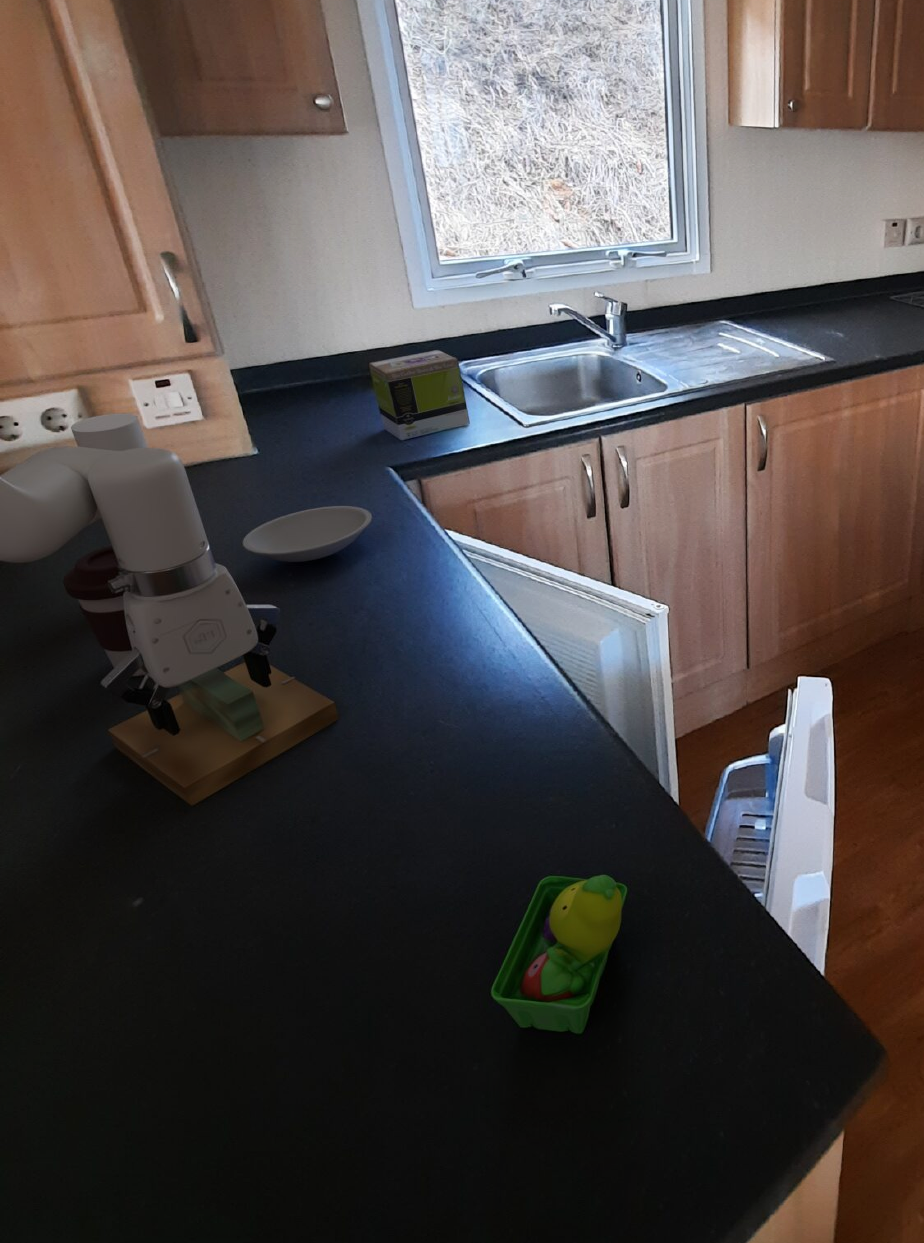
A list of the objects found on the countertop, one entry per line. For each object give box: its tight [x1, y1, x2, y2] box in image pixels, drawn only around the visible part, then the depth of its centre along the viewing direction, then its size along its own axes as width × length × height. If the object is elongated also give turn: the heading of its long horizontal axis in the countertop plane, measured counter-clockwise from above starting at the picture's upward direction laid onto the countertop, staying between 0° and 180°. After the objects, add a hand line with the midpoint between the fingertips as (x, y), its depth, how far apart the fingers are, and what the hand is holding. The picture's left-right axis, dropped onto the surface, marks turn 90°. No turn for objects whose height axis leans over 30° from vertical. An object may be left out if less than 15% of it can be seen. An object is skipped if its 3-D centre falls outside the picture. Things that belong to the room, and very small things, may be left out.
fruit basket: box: [490, 874, 628, 1035], centre depth 68 cm, size 11×9×11 cm
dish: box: [242, 505, 373, 563], centre depth 131 cm, size 18×14×5 cm
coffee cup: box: [62, 545, 145, 677], centre depth 105 cm, size 10×10×15 cm
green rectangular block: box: [177, 668, 265, 741], centre depth 94 cm, size 12×3×5 cm, turn 57°
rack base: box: [107, 661, 340, 807], centre depth 96 cm, size 16×16×3 cm
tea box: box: [368, 349, 471, 441], centre depth 180 cm, size 15×10×15 cm, turn 133°
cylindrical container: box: [70, 412, 149, 451], centre depth 118 cm, size 7×7×25 cm
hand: (217, 705), depth 94 cm, fingers open, 9 cm apart
